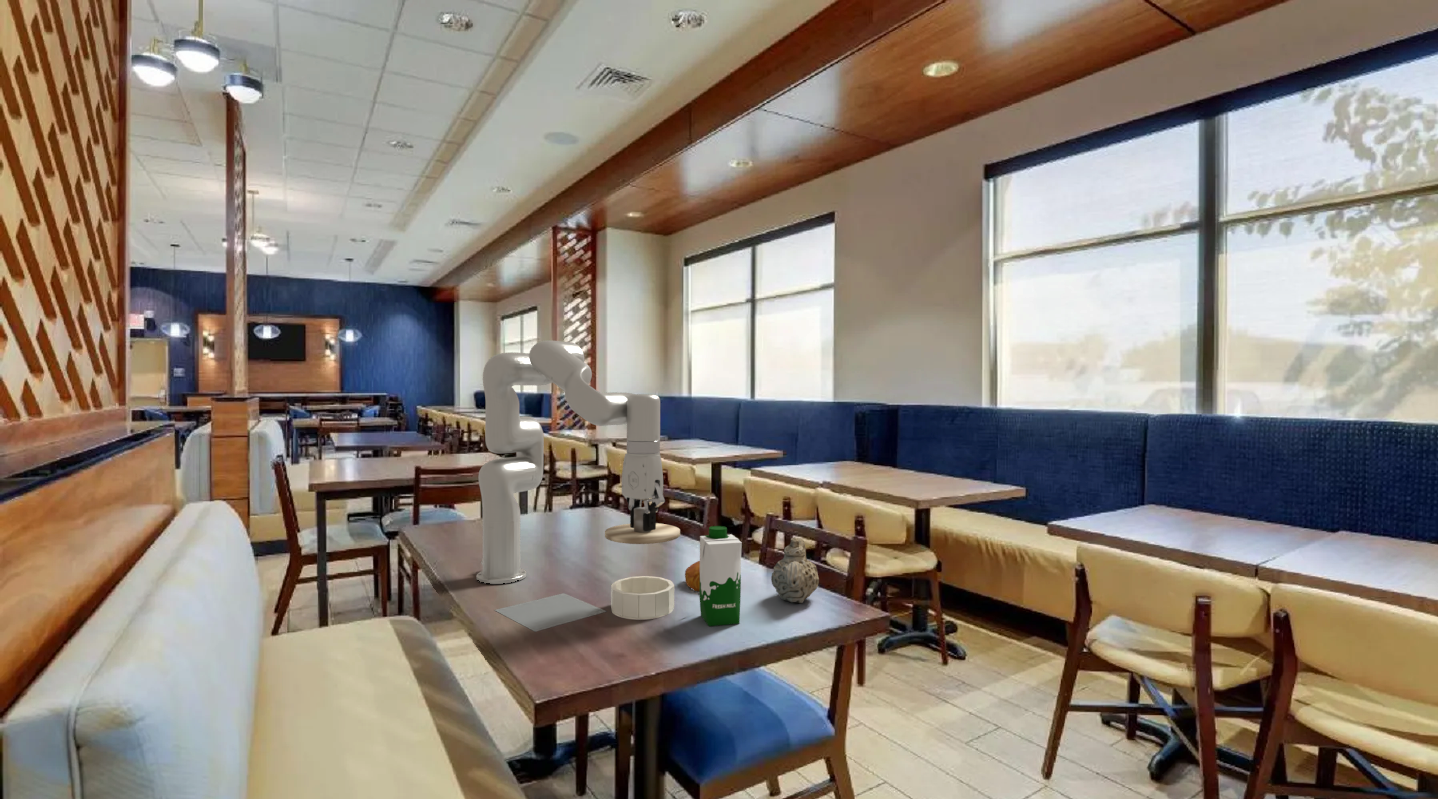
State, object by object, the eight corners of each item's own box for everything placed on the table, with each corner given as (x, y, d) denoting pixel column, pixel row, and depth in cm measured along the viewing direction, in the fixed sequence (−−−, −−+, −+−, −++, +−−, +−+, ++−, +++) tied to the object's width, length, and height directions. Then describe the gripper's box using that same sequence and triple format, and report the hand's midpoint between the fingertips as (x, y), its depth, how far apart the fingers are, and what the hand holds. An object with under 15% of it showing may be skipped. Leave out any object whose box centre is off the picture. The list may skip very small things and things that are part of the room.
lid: (589, 534, 155) (589, 508, 155) (648, 523, 167) (648, 499, 167) (636, 548, 143) (636, 519, 143) (695, 535, 155) (695, 509, 155)
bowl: (599, 610, 156) (599, 584, 155) (647, 597, 165) (647, 572, 165) (637, 626, 146) (637, 599, 145) (685, 611, 155) (686, 585, 155)
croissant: (741, 586, 183) (743, 556, 184) (737, 596, 167) (738, 563, 168) (688, 582, 184) (690, 552, 185) (679, 592, 169) (680, 559, 170)
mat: (494, 612, 154) (494, 610, 154) (563, 595, 166) (563, 593, 166) (534, 634, 141) (535, 631, 141) (606, 613, 153) (606, 611, 153)
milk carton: (733, 611, 156) (733, 524, 155) (744, 625, 147) (745, 533, 147) (695, 614, 154) (696, 526, 153) (705, 628, 145) (706, 535, 144)
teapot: (816, 615, 154) (817, 549, 154) (765, 611, 156) (766, 546, 156) (821, 587, 175) (822, 529, 174) (776, 584, 177) (777, 526, 177)
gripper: (608, 446, 158) (607, 525, 158) (653, 452, 146) (653, 537, 146) (634, 444, 163) (633, 520, 164) (680, 450, 151) (679, 532, 152)
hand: (642, 527), depth 155 cm, fingers closed on lid, 4 cm apart
